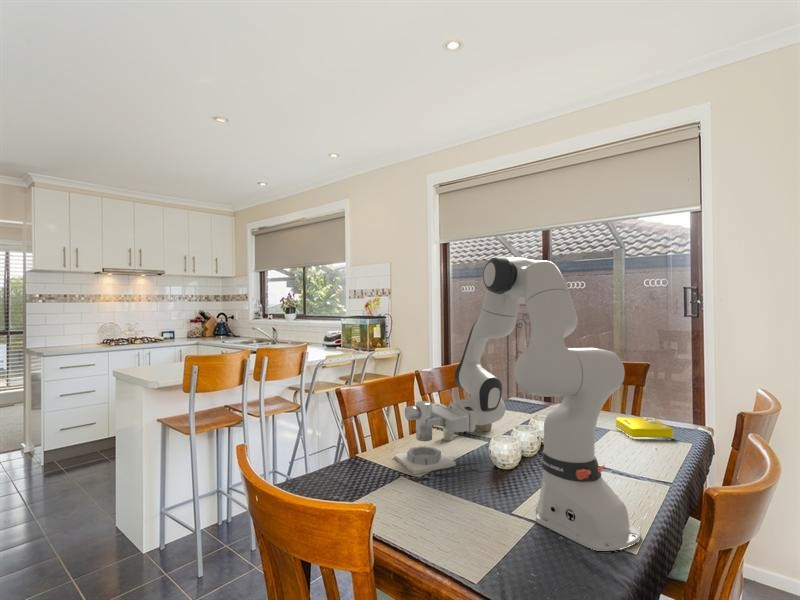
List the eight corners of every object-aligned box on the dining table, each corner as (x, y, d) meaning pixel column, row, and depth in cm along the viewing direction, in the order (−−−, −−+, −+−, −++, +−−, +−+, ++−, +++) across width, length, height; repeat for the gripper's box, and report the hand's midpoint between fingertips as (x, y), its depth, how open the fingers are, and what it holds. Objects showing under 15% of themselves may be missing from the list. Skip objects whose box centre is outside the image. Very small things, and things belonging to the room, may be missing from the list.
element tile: (613, 428, 169) (613, 415, 169) (653, 428, 169) (653, 416, 169) (632, 441, 154) (632, 427, 154) (675, 441, 154) (676, 428, 154)
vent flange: (455, 465, 131) (455, 455, 131) (414, 474, 125) (414, 463, 125) (432, 450, 143) (432, 441, 143) (394, 457, 137) (394, 448, 137)
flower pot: (468, 431, 164) (468, 409, 163) (472, 424, 173) (472, 403, 172) (494, 434, 161) (494, 410, 161) (496, 426, 170) (496, 404, 170)
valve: (451, 442, 152) (473, 435, 160) (451, 423, 152) (473, 417, 160) (437, 438, 157) (459, 431, 165) (437, 419, 157) (459, 413, 165)
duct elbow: (435, 439, 133) (435, 404, 133) (411, 443, 130) (411, 407, 129) (427, 434, 138) (427, 400, 137) (403, 438, 134) (403, 403, 134)
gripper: (442, 397, 149) (406, 401, 143) (477, 412, 131) (438, 418, 125) (442, 415, 149) (406, 420, 143) (477, 433, 131) (438, 439, 125)
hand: (421, 419), depth 134 cm, fingers closed on duct elbow, 5 cm apart
